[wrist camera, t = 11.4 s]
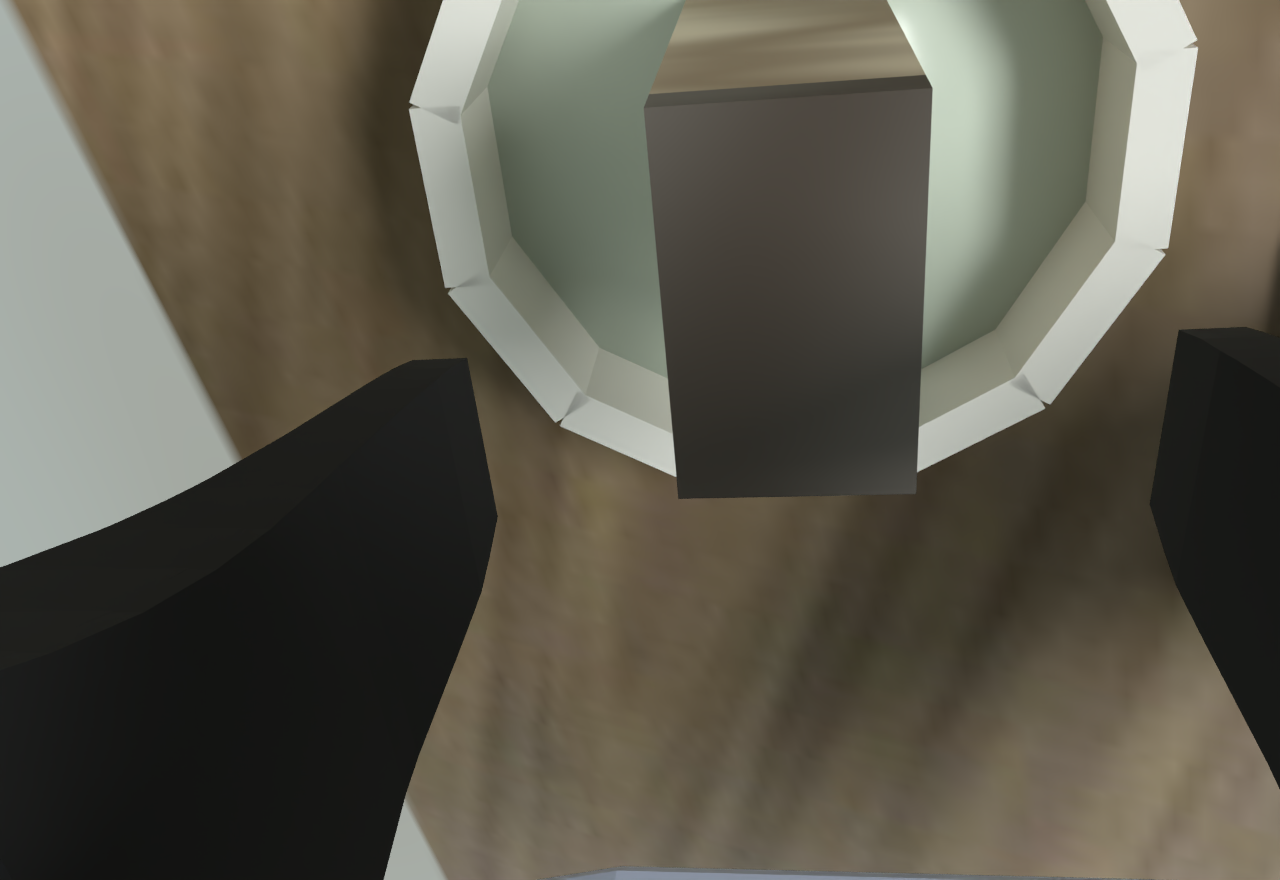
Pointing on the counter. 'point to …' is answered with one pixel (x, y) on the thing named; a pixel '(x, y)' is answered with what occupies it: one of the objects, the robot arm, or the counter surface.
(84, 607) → the robot arm
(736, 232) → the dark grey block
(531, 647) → the counter surface
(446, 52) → the dish
